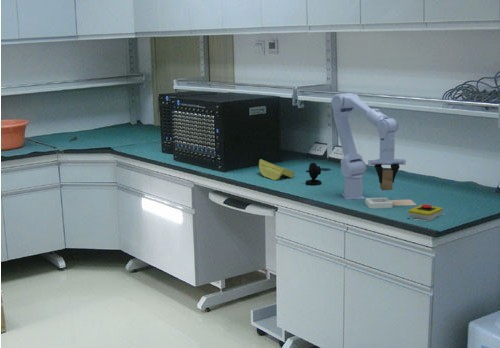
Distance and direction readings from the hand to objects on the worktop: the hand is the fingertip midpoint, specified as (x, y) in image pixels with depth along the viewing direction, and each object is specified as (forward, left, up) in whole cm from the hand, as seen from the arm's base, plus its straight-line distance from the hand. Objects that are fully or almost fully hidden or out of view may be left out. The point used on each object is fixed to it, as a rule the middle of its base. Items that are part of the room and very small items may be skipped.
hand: (386, 182), depth 272 cm
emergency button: (+17, +11, -10) cm, 23 cm away
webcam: (-44, -23, -10) cm, 51 cm away
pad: (-2, +7, -9) cm, 12 cm away
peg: (0, 0, -2) cm, 2 cm away
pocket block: (+1, -3, -9) cm, 10 cm away
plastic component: (-64, -39, -10) cm, 76 cm away
